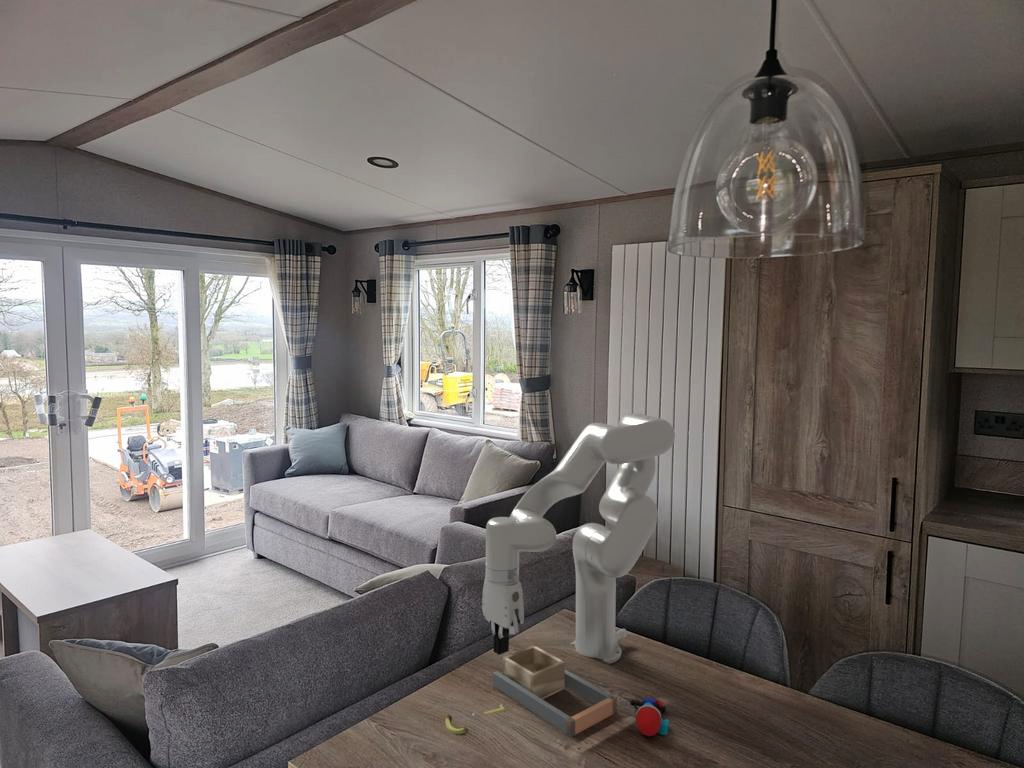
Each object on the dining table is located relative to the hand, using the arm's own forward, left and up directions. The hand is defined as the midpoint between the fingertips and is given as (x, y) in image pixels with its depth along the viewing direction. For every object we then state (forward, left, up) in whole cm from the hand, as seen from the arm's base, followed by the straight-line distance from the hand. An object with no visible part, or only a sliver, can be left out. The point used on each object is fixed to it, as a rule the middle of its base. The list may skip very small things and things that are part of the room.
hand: (501, 651), depth 153 cm
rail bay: (0, +17, -5) cm, 17 cm away
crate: (0, +11, -4) cm, 11 cm away
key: (+16, +11, -6) cm, 20 cm away
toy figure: (-11, +34, -6) cm, 36 cm away
